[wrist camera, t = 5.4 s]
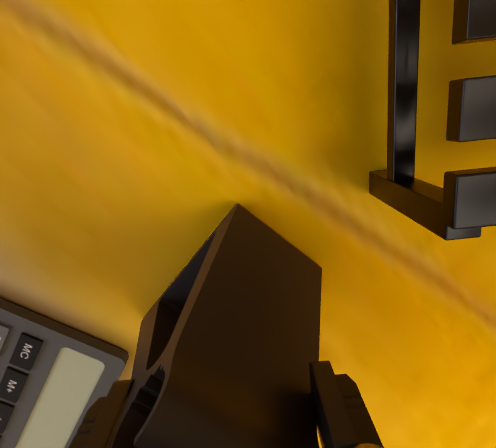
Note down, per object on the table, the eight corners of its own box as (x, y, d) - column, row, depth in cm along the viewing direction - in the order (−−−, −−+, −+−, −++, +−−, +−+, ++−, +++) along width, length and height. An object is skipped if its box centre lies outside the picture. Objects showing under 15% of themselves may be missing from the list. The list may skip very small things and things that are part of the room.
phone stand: (238, 201, 19) (237, 330, 8) (320, 265, 21) (424, 459, 9) (142, 317, 21) (29, 557, 10) (223, 370, 22) (206, 638, 11)
